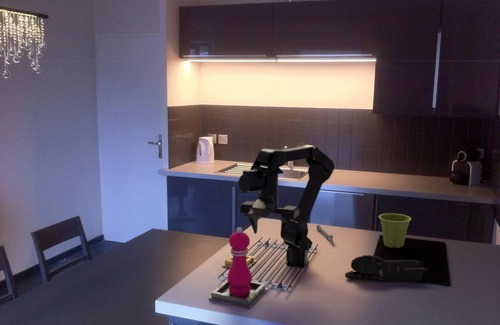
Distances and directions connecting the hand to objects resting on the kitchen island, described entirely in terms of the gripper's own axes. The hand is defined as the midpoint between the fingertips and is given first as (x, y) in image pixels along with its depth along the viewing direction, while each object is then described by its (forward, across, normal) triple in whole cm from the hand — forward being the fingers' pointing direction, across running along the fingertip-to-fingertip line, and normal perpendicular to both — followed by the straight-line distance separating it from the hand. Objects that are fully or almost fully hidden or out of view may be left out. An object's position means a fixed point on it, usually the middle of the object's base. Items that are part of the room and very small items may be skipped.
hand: (268, 235), depth 146 cm
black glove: (+13, +35, +12) cm, 40 cm away
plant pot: (+13, +34, +45) cm, 58 cm away
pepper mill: (+13, -2, -18) cm, 22 cm away
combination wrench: (+13, +7, +44) cm, 46 cm away
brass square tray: (+13, -12, +3) cm, 18 cm away
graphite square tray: (+13, -2, -18) cm, 22 cm away
